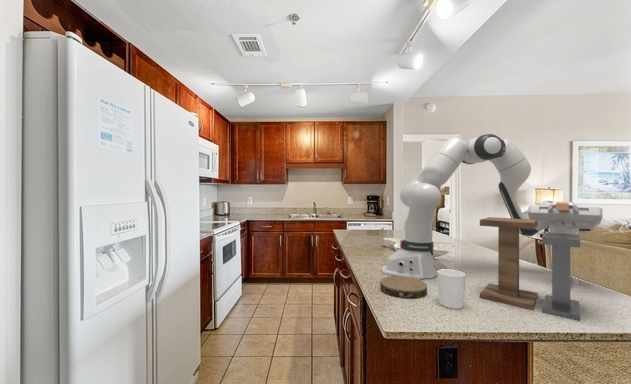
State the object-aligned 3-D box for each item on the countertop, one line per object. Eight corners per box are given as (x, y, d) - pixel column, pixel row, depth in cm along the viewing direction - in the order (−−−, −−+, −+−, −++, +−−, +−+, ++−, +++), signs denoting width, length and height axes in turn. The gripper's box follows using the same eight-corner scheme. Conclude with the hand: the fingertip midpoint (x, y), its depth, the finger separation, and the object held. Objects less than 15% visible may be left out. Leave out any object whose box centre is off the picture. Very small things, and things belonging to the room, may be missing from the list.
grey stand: (545, 299, 90) (545, 232, 90) (579, 306, 85) (579, 234, 85) (542, 312, 80) (542, 237, 80) (580, 321, 74) (580, 240, 75)
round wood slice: (435, 292, 97) (435, 283, 97) (412, 303, 87) (412, 294, 87) (396, 281, 109) (396, 273, 109) (371, 290, 99) (371, 282, 99)
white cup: (464, 312, 80) (464, 277, 80) (435, 306, 84) (435, 273, 84) (466, 303, 87) (466, 271, 87) (439, 297, 91) (439, 267, 91)
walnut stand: (489, 287, 101) (489, 217, 101) (537, 297, 92) (537, 219, 92) (479, 298, 91) (479, 219, 91) (533, 310, 81) (533, 222, 81)
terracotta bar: (557, 207, 101) (557, 201, 101) (568, 207, 99) (568, 202, 99) (555, 209, 85) (555, 203, 85) (568, 210, 83) (568, 203, 83)
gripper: (529, 212, 114) (526, 195, 105) (600, 215, 100) (603, 196, 91) (528, 226, 111) (525, 210, 103) (601, 231, 97) (604, 213, 89)
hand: (562, 203), depth 97 cm, fingers closed on terracotta bar, 3 cm apart
